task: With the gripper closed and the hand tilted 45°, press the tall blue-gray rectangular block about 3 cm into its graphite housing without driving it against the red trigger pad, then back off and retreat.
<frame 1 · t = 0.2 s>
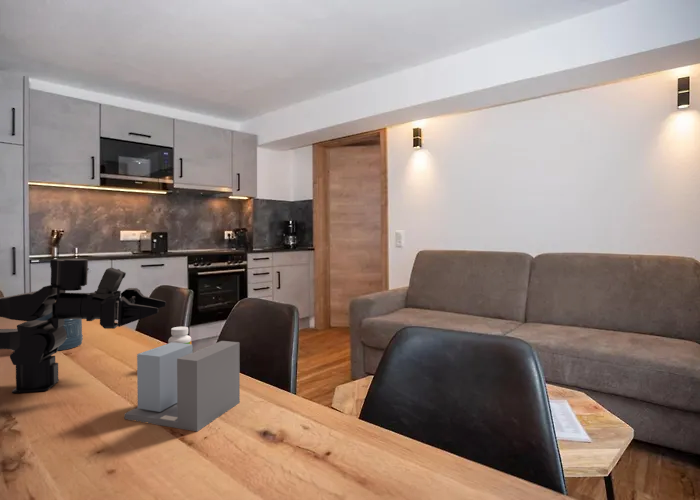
hand: (162, 307, 97), 17 cm above the table, tool horizontal, fingers open, 9 cm apart
supplement bottle: (180, 367, 107), on the table
blue-gray rectangular block: (166, 375, 81), point 6 cm above the table, slide at 0.0 cm
canister: (56, 347, 125), on the table
housing: (177, 409, 80), on the table
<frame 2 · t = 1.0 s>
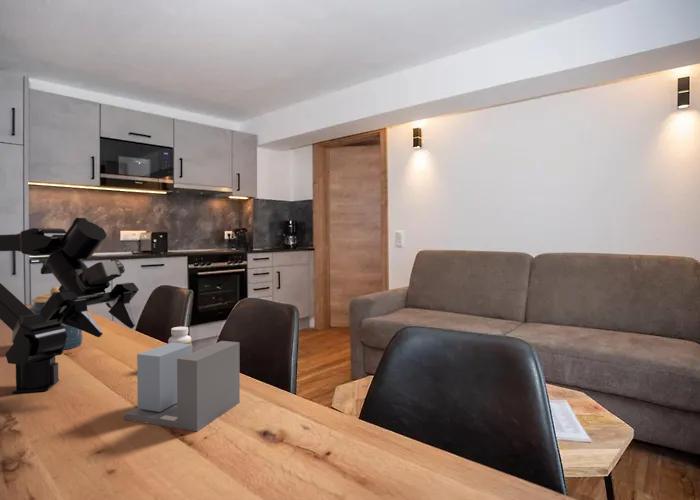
hand: (117, 331, 85), 14 cm above the table, tool tilted 45°, fingers open, 8 cm apart
nothing on the table moved.
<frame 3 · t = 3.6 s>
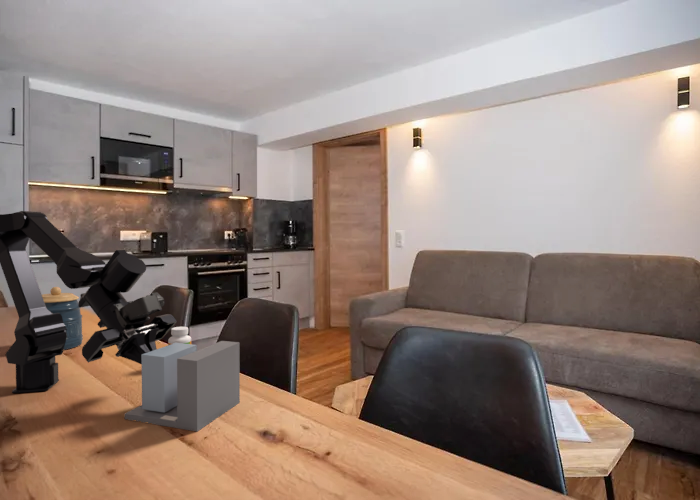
hand: (158, 368, 81), 7 cm above the table, tool tilted 45°, fingers closed, pressing on blue-gray rectangular block
blue-gray rectangular block: (170, 375, 81), point 6 cm above the table, slide at 1.0 cm, touching gripper
everything else where it was.
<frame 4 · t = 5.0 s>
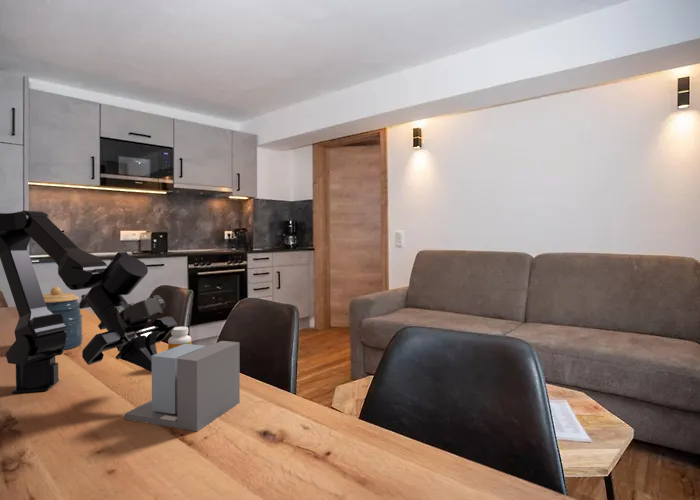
hand: (158, 371, 81), 7 cm above the table, tool tilted 45°, fingers closed
blue-gray rectangular block: (180, 376, 80), point 6 cm above the table, slide at 3.2 cm
everything else where it was.
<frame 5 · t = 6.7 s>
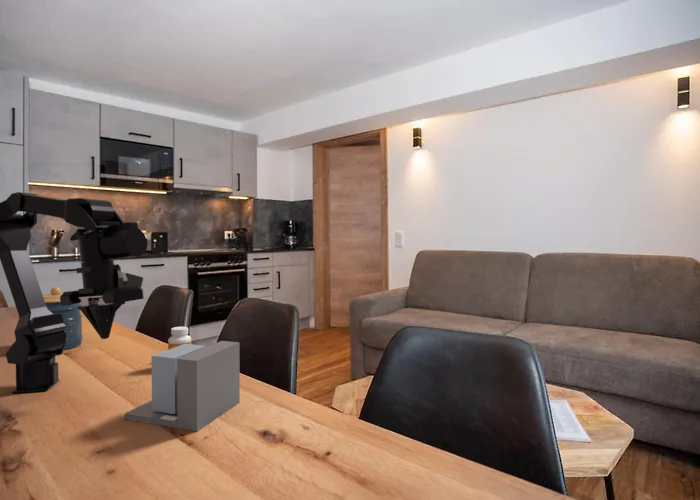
hand: (105, 338, 85), 12 cm above the table, tool pointing down, fingers closed
nothing on the table moved.
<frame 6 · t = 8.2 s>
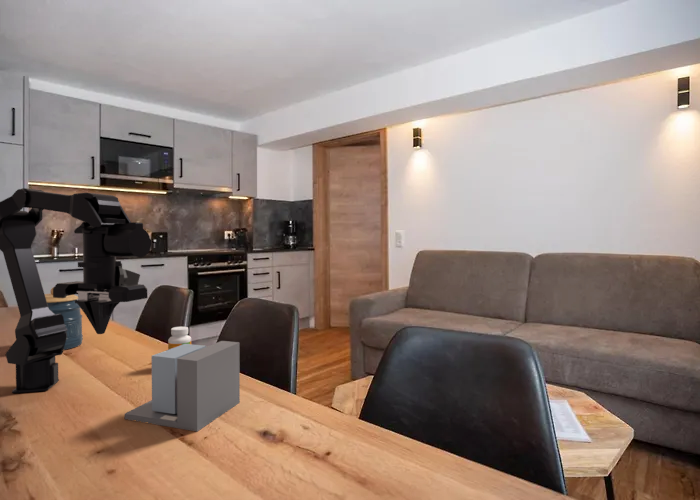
hand: (100, 333, 86), 13 cm above the table, tool pointing down, fingers closed
nothing on the table moved.
at the end: blue-gray rectangular block slide at 3.2 cm; blue-gray rectangular block touching nothing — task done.
